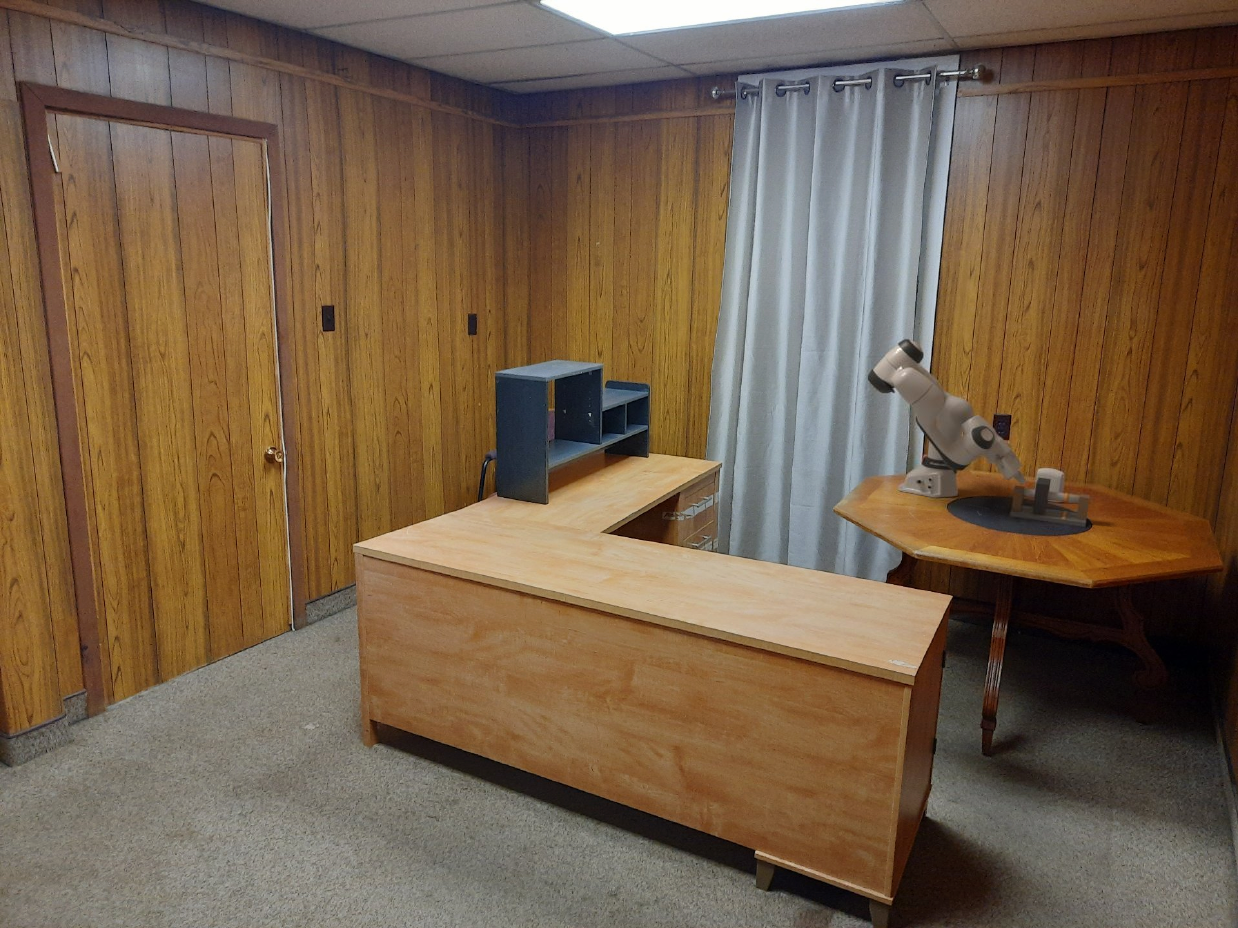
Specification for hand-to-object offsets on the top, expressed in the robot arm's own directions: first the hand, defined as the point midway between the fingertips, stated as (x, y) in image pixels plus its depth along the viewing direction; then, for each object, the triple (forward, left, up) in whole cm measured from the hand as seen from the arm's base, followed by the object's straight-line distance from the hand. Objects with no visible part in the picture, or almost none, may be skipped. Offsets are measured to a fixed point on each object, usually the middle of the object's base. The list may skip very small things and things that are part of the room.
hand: (1024, 482), depth 310 cm
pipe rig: (+9, 0, -12) cm, 15 cm away
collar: (+6, 0, -9) cm, 11 cm away
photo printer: (+7, +26, -12) cm, 30 cm away
